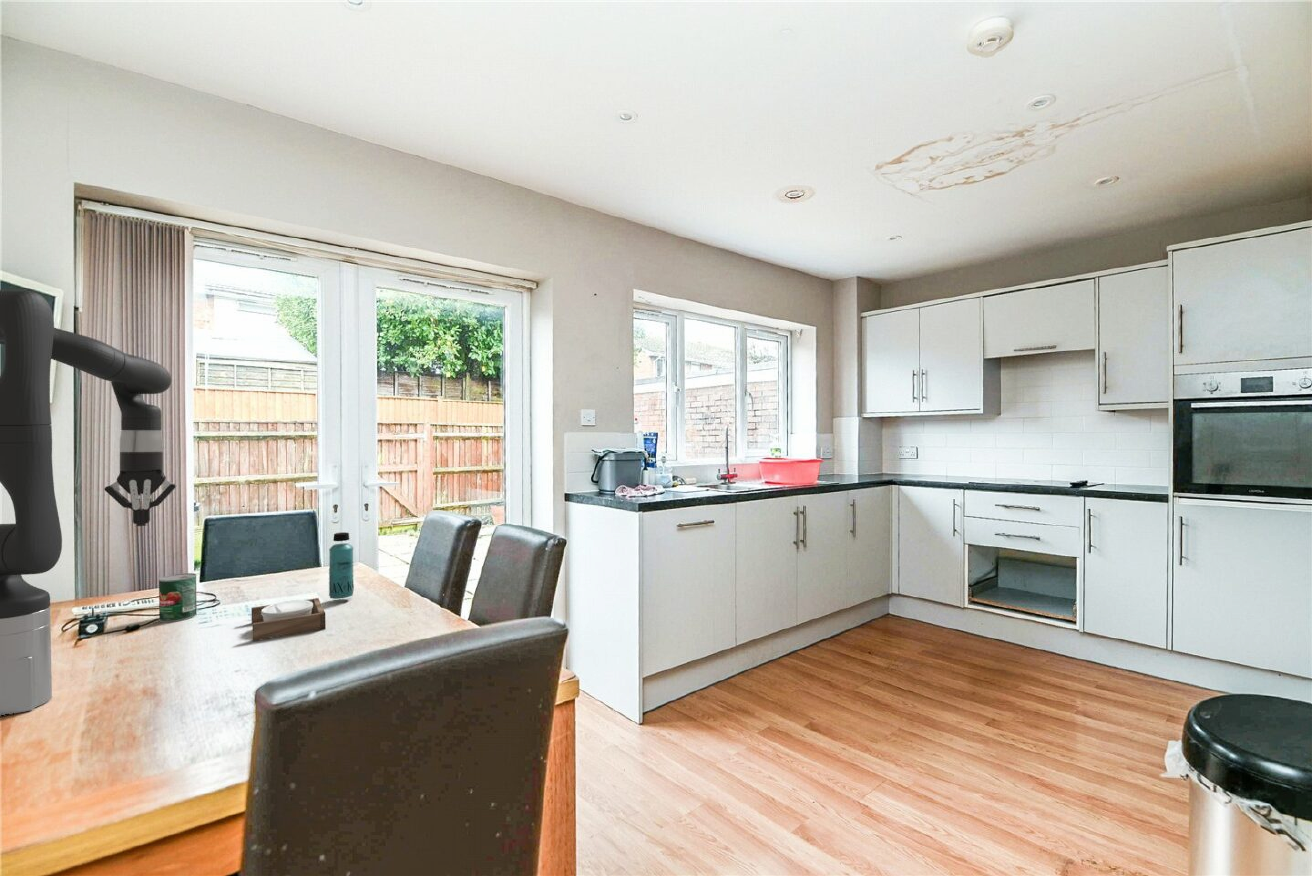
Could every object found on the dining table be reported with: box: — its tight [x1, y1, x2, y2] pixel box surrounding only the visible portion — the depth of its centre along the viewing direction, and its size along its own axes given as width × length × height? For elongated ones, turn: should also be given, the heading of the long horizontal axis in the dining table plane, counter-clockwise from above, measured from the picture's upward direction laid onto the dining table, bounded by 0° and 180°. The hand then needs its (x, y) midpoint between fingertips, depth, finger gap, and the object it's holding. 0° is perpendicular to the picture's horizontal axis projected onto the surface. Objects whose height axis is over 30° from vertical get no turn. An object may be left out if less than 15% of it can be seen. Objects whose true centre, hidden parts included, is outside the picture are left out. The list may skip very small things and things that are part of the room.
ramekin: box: [261, 599, 313, 621], centre depth 152 cm, size 11×11×5 cm
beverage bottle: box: [328, 532, 355, 600], centre depth 175 cm, size 6×7×20 cm
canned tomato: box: [158, 572, 198, 623], centre depth 160 cm, size 8×8×11 cm
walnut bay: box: [250, 597, 327, 642], centre depth 153 cm, size 16×15×4 cm
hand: (141, 525), depth 137 cm, fingers closed
